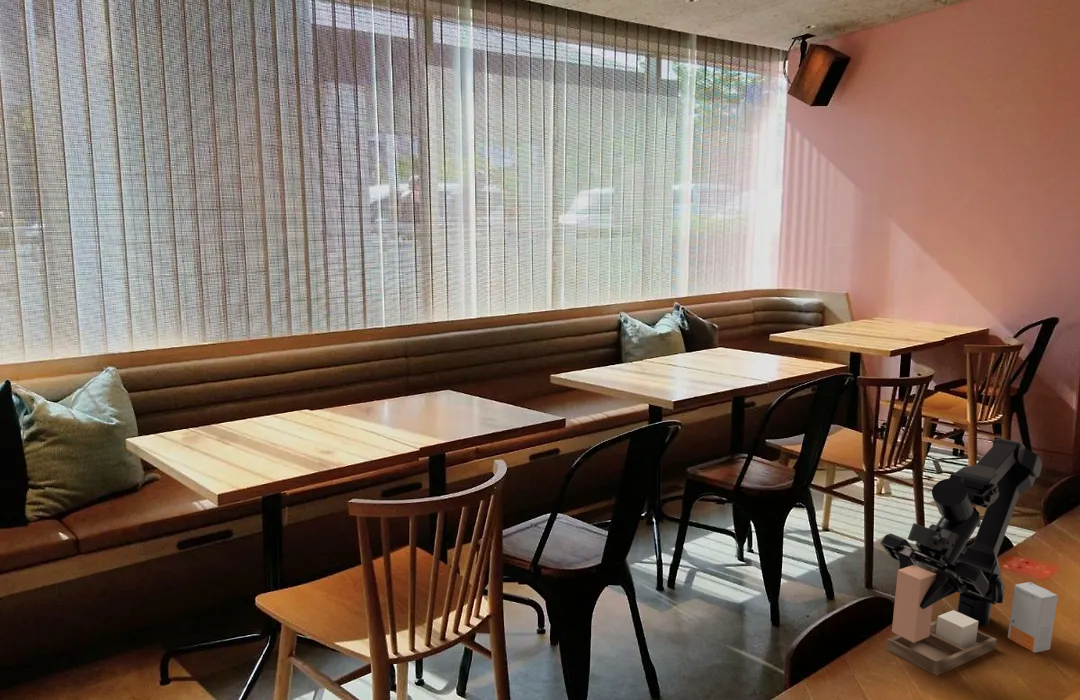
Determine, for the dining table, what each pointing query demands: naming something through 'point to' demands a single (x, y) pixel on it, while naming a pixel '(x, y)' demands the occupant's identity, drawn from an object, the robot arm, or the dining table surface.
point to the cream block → (957, 629)
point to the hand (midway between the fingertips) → (909, 602)
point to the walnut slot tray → (939, 651)
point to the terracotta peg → (912, 603)
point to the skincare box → (1032, 617)
